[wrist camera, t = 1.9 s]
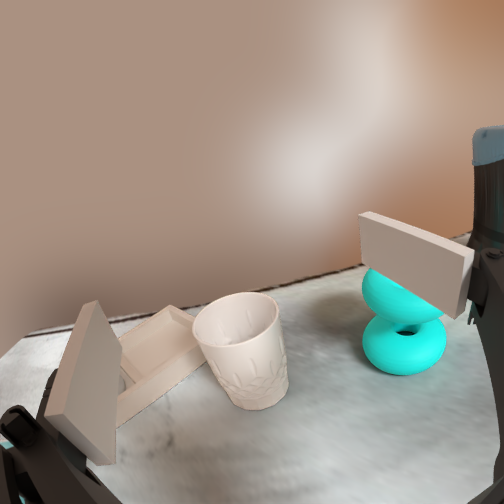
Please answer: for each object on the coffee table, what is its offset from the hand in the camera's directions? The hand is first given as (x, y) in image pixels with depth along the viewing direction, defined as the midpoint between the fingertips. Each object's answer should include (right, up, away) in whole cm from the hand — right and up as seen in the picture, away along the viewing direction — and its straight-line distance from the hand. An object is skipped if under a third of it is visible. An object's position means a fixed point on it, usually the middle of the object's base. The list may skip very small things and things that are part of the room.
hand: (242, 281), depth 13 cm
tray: (-15, -15, +20) cm, 30 cm away
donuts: (+18, -10, +15) cm, 25 cm away
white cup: (+1, -13, +16) cm, 21 cm away
